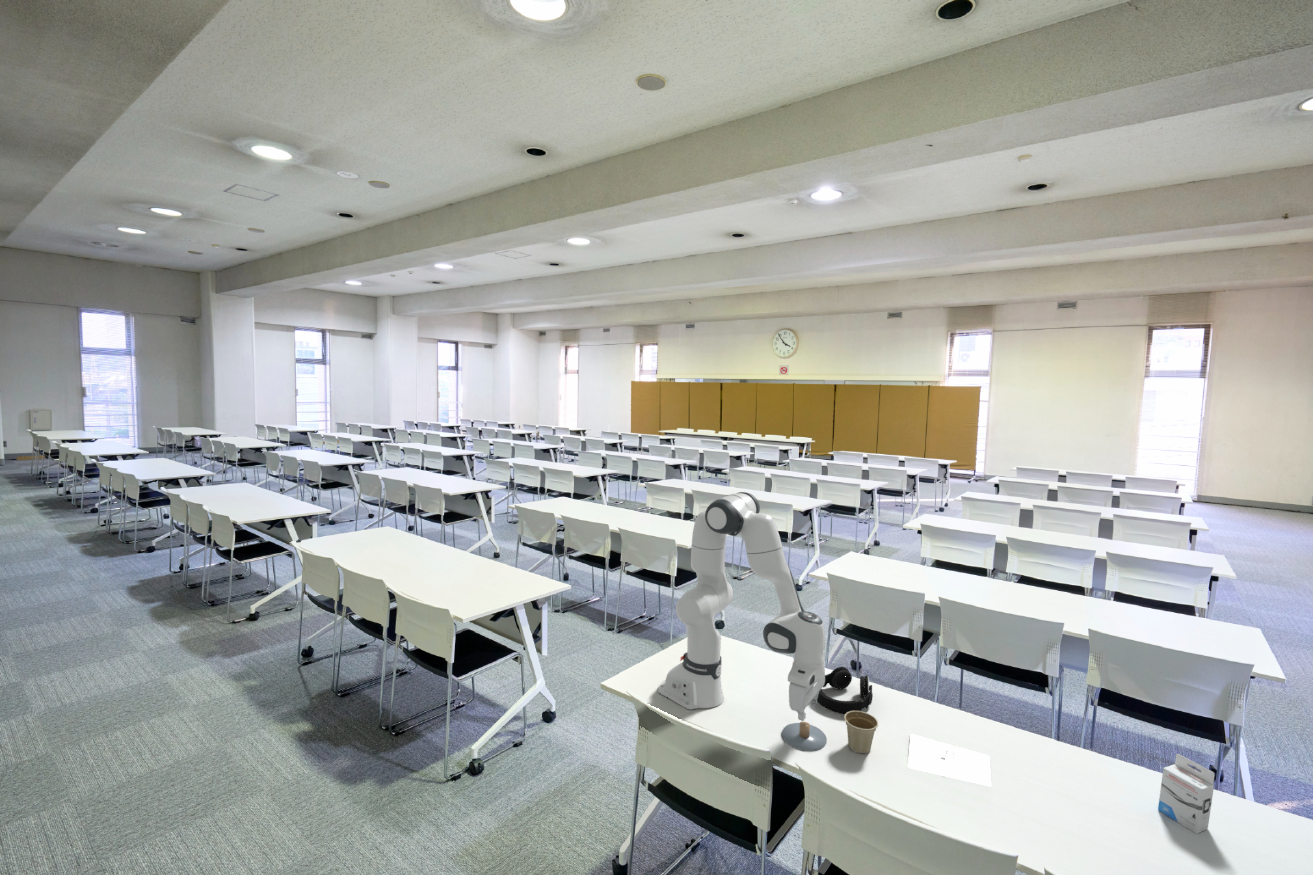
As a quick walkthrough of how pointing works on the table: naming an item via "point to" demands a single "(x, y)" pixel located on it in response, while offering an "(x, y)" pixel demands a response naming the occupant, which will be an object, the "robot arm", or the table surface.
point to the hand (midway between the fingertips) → (807, 711)
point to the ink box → (1187, 794)
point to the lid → (804, 736)
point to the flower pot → (860, 730)
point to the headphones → (841, 682)
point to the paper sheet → (948, 760)
